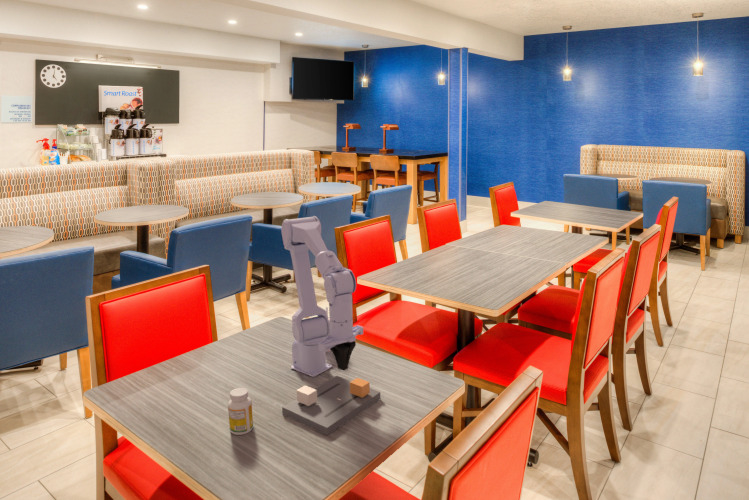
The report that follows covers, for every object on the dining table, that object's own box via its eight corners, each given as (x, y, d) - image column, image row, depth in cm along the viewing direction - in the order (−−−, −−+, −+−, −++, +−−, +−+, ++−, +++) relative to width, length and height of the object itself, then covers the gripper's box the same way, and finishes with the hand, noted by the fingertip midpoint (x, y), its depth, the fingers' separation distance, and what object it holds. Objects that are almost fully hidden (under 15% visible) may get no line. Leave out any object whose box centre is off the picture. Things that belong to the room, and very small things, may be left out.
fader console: (282, 414, 129) (282, 406, 129) (337, 382, 144) (336, 375, 144) (327, 435, 120) (327, 427, 120) (380, 399, 135) (380, 392, 135)
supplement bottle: (239, 438, 120) (235, 400, 117) (225, 430, 123) (221, 392, 121) (258, 427, 124) (255, 391, 121) (244, 420, 127) (241, 383, 125)
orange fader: (350, 392, 134) (349, 382, 133) (357, 388, 136) (357, 377, 135) (362, 397, 131) (361, 386, 131) (369, 392, 134) (369, 382, 133)
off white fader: (297, 401, 130) (296, 390, 130) (305, 396, 133) (305, 385, 132) (308, 406, 128) (308, 395, 127) (317, 401, 130) (316, 390, 129)
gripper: (332, 331, 123) (334, 384, 126) (372, 313, 134) (372, 362, 137) (311, 324, 127) (313, 375, 130) (351, 307, 138) (352, 355, 141)
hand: (342, 368), depth 134 cm, fingers closed
